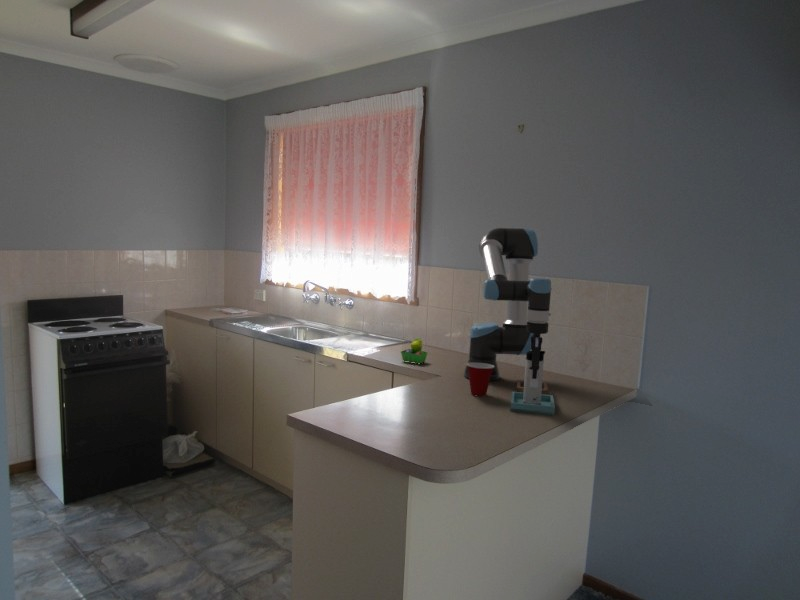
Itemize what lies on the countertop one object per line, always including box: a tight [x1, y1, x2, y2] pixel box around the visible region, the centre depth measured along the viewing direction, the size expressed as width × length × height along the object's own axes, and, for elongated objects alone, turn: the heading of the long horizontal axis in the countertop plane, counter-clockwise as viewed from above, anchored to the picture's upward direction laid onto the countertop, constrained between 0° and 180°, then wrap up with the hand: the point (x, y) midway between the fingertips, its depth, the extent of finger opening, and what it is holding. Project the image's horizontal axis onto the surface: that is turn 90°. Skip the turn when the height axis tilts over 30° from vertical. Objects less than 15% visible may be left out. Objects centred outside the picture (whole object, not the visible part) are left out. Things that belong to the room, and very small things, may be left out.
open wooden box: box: [516, 379, 549, 395], centre depth 220 cm, size 12×12×4 cm
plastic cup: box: [465, 362, 494, 397], centre depth 218 cm, size 11×11×12 cm
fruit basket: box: [400, 337, 429, 364], centre depth 268 cm, size 11×9×11 cm
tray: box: [509, 391, 556, 416], centre depth 205 cm, size 15×15×3 cm
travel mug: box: [523, 350, 546, 405], centre depth 203 cm, size 6×7×20 cm
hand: (533, 384), depth 204 cm, fingers open, 7 cm apart
